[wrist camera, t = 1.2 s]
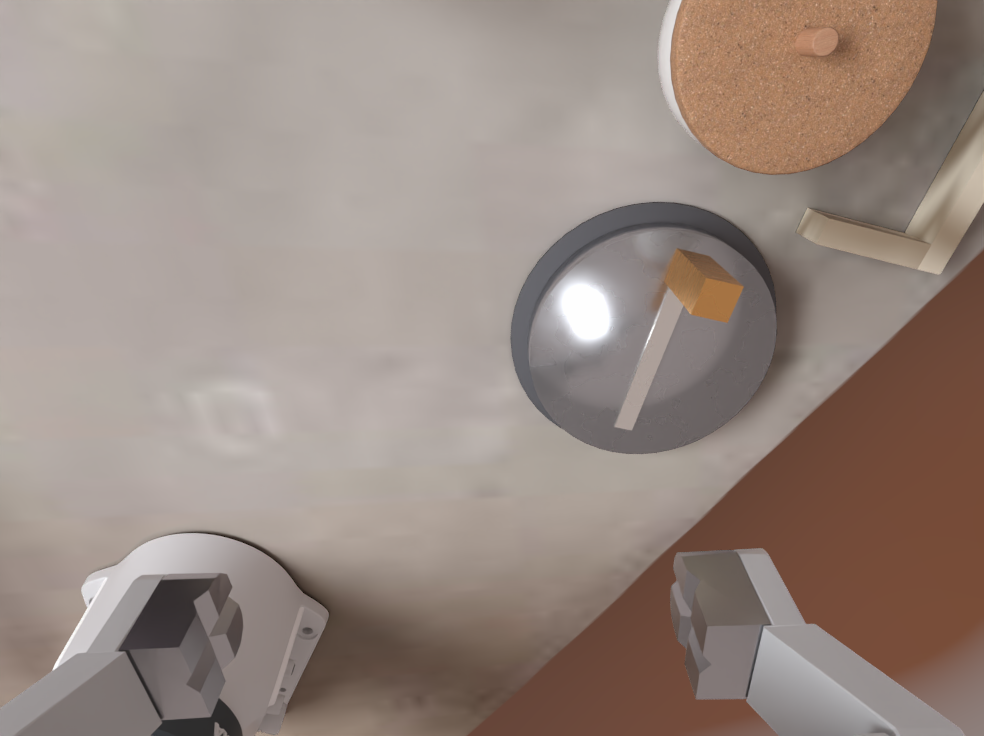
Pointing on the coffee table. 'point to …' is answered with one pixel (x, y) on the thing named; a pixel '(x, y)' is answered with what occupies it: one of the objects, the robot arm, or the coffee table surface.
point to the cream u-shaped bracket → (918, 212)
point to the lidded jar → (789, 74)
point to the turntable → (650, 338)
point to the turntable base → (596, 229)
